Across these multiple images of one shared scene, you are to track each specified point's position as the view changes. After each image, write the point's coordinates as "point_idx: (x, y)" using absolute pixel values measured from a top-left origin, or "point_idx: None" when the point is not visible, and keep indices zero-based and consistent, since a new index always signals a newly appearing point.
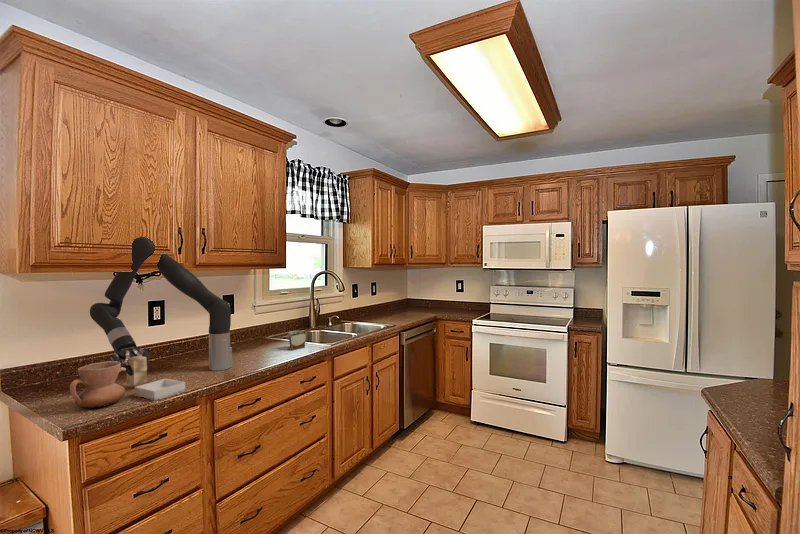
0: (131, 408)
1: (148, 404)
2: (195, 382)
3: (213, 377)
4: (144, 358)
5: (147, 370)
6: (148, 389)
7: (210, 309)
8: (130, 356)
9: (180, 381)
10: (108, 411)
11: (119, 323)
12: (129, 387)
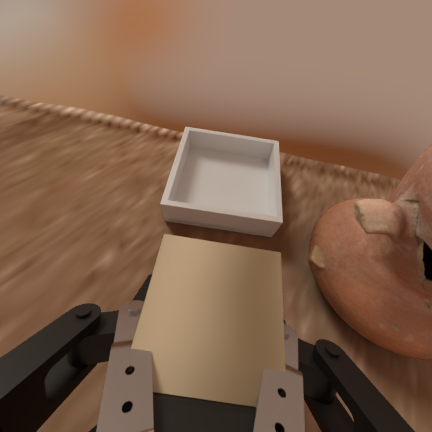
0: (324, 170)
1: (290, 157)
2: (105, 171)
3: (44, 157)
4: (183, 240)
5: None
6: (275, 164)
7: None
8: (226, 424)
9: (182, 140)
10: None
11: None
12: None
